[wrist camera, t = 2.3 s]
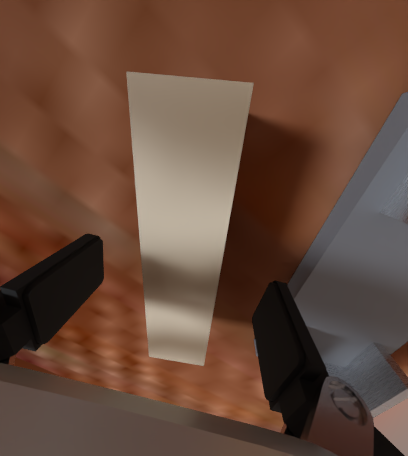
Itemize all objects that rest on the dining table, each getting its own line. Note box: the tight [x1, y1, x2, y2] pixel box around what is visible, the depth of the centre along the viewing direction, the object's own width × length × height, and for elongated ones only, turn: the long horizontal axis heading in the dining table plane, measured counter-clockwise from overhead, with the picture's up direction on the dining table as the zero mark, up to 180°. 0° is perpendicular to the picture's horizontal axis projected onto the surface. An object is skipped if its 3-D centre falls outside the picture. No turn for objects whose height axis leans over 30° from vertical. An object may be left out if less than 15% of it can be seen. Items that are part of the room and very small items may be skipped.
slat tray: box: [254, 92, 408, 367], centre depth 13 cm, size 21×10×2 cm, turn 167°
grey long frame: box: [309, 175, 408, 418], centre depth 11 cm, size 20×7×3 cm, turn 167°
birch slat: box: [127, 72, 254, 366], centre depth 11 cm, size 16×4×5 cm, turn 174°
